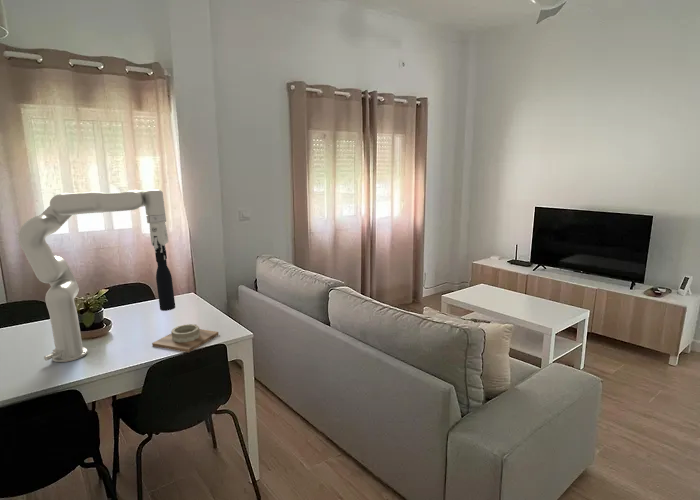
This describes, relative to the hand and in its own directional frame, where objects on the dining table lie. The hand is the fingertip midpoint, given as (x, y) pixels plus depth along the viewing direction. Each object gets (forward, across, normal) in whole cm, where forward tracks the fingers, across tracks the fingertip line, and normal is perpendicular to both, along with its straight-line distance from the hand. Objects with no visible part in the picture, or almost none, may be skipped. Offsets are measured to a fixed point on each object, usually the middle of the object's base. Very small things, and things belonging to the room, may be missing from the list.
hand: (161, 260), depth 189 cm
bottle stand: (+38, -1, -6) cm, 39 cm away
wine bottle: (+22, 0, 0) cm, 22 cm away
